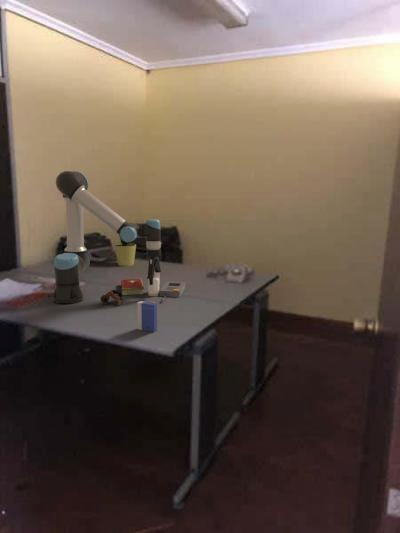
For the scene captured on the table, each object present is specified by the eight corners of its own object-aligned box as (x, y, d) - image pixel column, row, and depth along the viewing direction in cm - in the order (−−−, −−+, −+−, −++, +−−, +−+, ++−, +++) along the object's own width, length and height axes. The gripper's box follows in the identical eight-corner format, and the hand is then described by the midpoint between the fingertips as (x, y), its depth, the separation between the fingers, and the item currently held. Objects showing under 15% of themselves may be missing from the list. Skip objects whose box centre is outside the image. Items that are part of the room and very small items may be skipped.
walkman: (157, 329, 163) (157, 302, 161) (154, 332, 161) (153, 304, 158) (140, 327, 166) (140, 300, 164) (137, 329, 164) (136, 301, 161)
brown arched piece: (109, 301, 203) (117, 288, 201) (120, 312, 199) (128, 299, 197) (93, 301, 192) (100, 287, 190) (104, 312, 188) (112, 299, 186)
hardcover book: (121, 295, 212) (121, 288, 211) (121, 285, 232) (121, 278, 231) (144, 294, 215) (143, 287, 214) (141, 285, 235) (141, 278, 234)
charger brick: (157, 296, 211) (157, 279, 209) (148, 295, 212) (148, 279, 210) (159, 293, 216) (159, 277, 214) (150, 293, 217) (150, 277, 215)
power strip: (175, 303, 198) (175, 297, 197) (154, 302, 199) (154, 296, 199) (185, 287, 230) (185, 281, 229) (166, 286, 231) (166, 280, 230)
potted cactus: (122, 267, 278) (121, 225, 272) (111, 264, 290) (110, 223, 283) (140, 265, 288) (140, 224, 282) (129, 261, 299) (128, 222, 293)
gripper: (155, 252, 196) (156, 293, 200) (165, 245, 220) (165, 281, 225) (140, 252, 197) (141, 293, 201) (152, 244, 221) (153, 281, 226)
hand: (154, 287), depth 213 cm, fingers open, 13 cm apart
